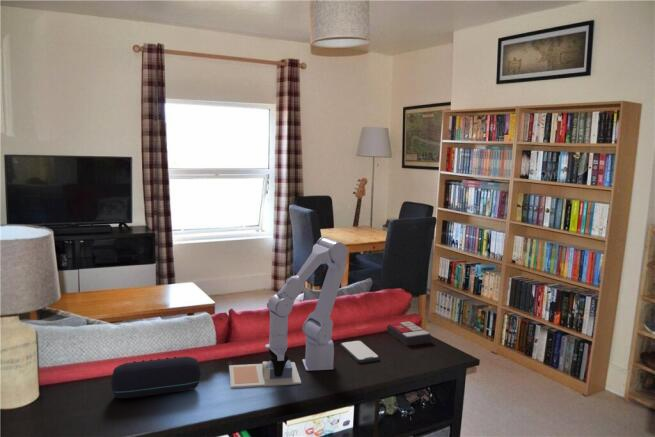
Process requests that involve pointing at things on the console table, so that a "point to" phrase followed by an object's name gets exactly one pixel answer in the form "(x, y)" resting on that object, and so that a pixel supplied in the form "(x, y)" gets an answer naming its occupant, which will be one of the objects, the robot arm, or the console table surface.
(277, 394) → the console table surface
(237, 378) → the mat
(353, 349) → the phone case
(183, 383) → the portable speaker
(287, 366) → the card deck
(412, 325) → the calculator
